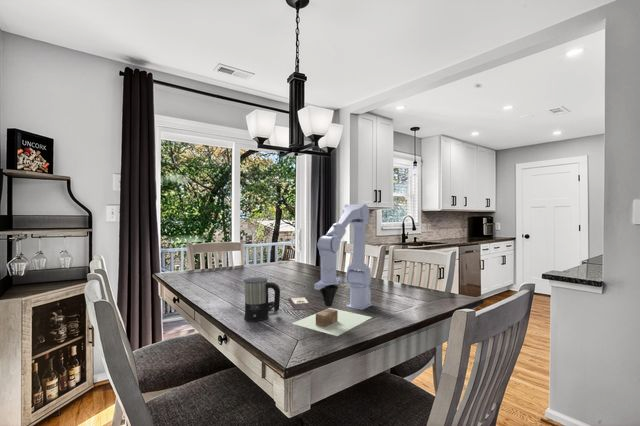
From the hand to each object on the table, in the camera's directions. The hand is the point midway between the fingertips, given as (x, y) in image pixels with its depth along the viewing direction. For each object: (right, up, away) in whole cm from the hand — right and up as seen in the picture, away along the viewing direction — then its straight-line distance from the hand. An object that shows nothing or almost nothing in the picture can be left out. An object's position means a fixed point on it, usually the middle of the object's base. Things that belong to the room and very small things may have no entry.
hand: (328, 305), depth 119 cm
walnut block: (+2, -4, +2) cm, 5 cm away
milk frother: (-27, -7, +10) cm, 29 cm away
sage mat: (+2, -6, +2) cm, 7 cm away
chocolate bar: (-11, -7, +25) cm, 28 cm away
